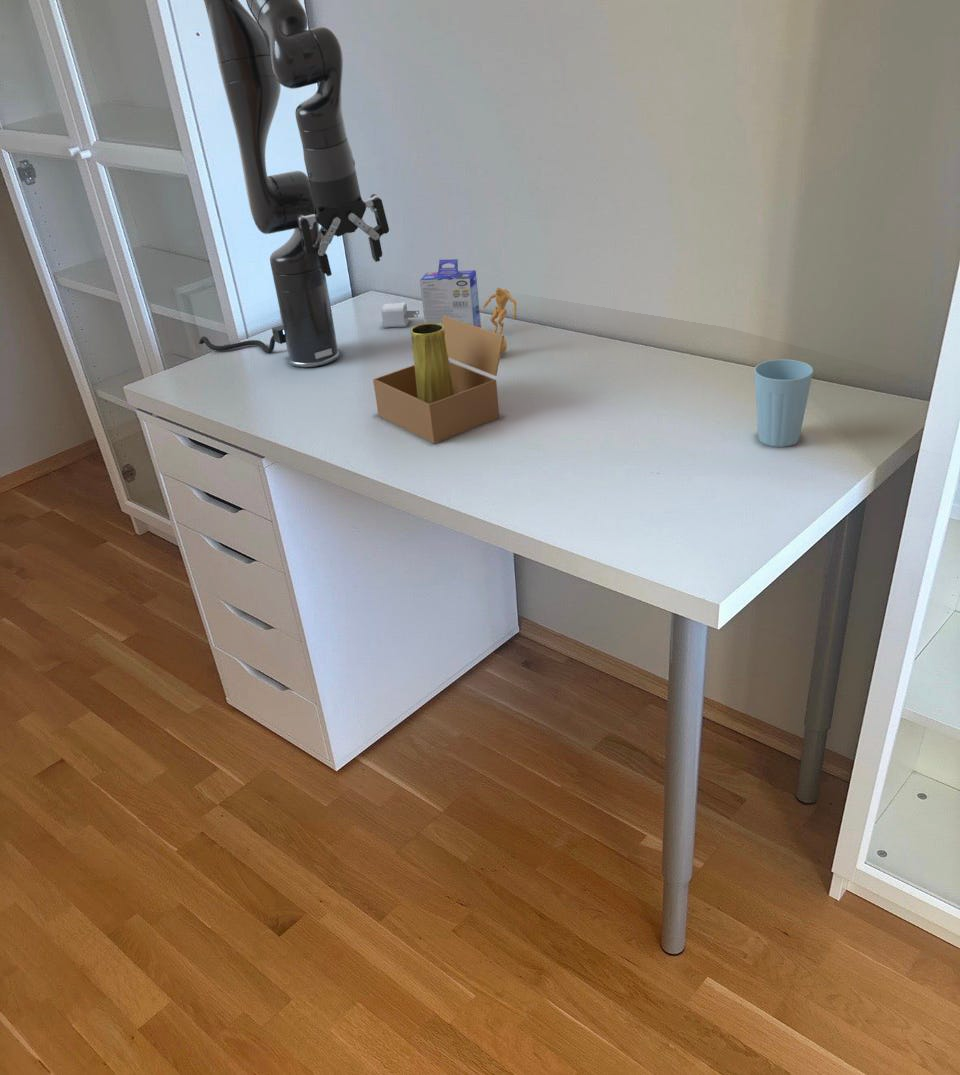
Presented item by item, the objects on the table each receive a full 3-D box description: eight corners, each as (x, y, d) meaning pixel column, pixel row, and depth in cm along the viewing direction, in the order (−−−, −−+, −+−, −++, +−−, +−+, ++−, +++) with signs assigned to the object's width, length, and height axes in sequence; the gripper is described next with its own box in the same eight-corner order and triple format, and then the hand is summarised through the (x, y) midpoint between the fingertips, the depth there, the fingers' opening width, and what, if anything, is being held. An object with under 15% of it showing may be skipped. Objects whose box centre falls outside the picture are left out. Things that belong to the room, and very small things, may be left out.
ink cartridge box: (483, 332, 190) (476, 256, 183) (477, 342, 185) (469, 265, 178) (433, 333, 192) (424, 258, 185) (426, 343, 188) (416, 267, 180)
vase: (428, 426, 154) (417, 338, 146) (412, 413, 158) (401, 327, 151) (463, 416, 156) (454, 328, 149) (446, 403, 161) (437, 318, 153)
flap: (442, 315, 160) (444, 315, 161) (436, 353, 162) (437, 353, 162) (502, 335, 149) (504, 335, 150) (495, 375, 151) (496, 375, 151)
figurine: (472, 355, 180) (466, 290, 174) (495, 345, 183) (490, 281, 177) (505, 363, 175) (500, 297, 168) (528, 353, 178) (524, 287, 172)
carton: (378, 415, 160) (372, 379, 157) (441, 392, 166) (437, 356, 163) (434, 443, 149) (429, 405, 145) (499, 417, 155) (496, 379, 152)
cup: (748, 449, 138) (752, 378, 133) (752, 426, 144) (756, 358, 139) (805, 452, 136) (811, 381, 130) (807, 428, 142) (813, 359, 136)
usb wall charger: (387, 322, 201) (385, 302, 199) (421, 320, 200) (418, 301, 198) (383, 328, 197) (381, 309, 195) (418, 327, 196) (415, 307, 194)
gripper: (366, 152, 159) (385, 248, 170) (281, 175, 156) (306, 270, 167) (381, 165, 154) (399, 263, 164) (293, 189, 151) (317, 287, 161)
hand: (352, 267), depth 165 cm, fingers open, 8 cm apart
